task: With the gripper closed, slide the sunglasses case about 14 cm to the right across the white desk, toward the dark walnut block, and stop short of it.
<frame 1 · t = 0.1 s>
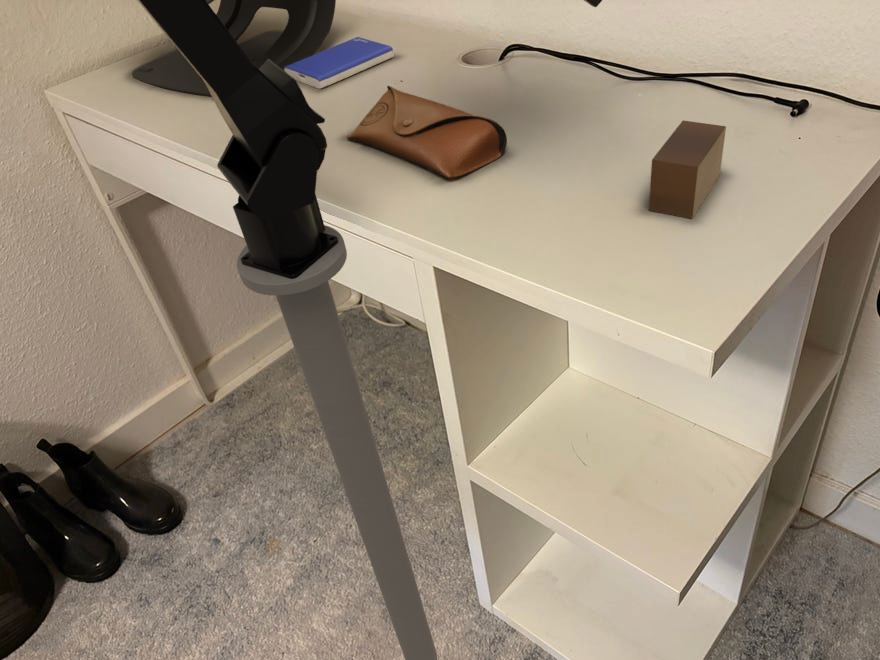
sunglasses case: (423, 147, 80), on the table
walnut block: (684, 193, 68), on the table
laptop stand: (235, 61, 107), on the table
hard drive: (341, 69, 100), on the table
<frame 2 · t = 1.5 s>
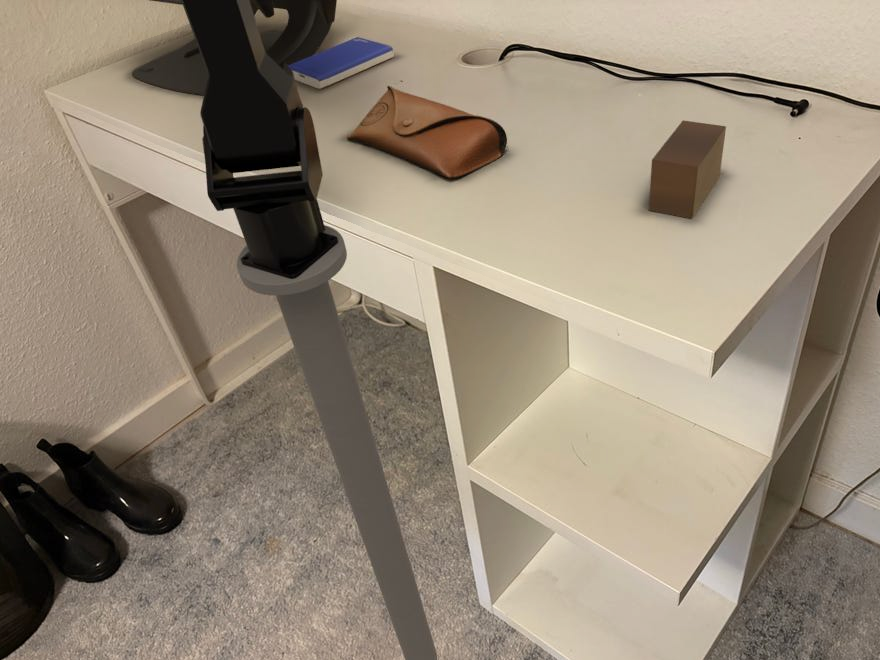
hand: (299, 19, 78), 12 cm above the table, tool pointing down, fingers open, 8 cm apart
nothing on the table moved.
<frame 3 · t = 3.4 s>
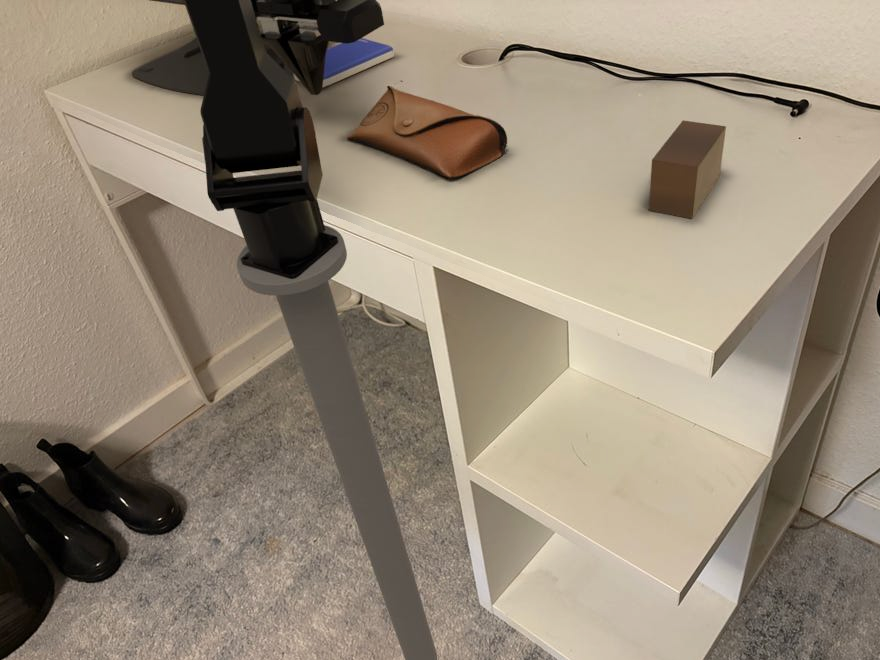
hand: (316, 93, 83), 4 cm above the table, tool pointing down, fingers closed
nothing on the table moved.
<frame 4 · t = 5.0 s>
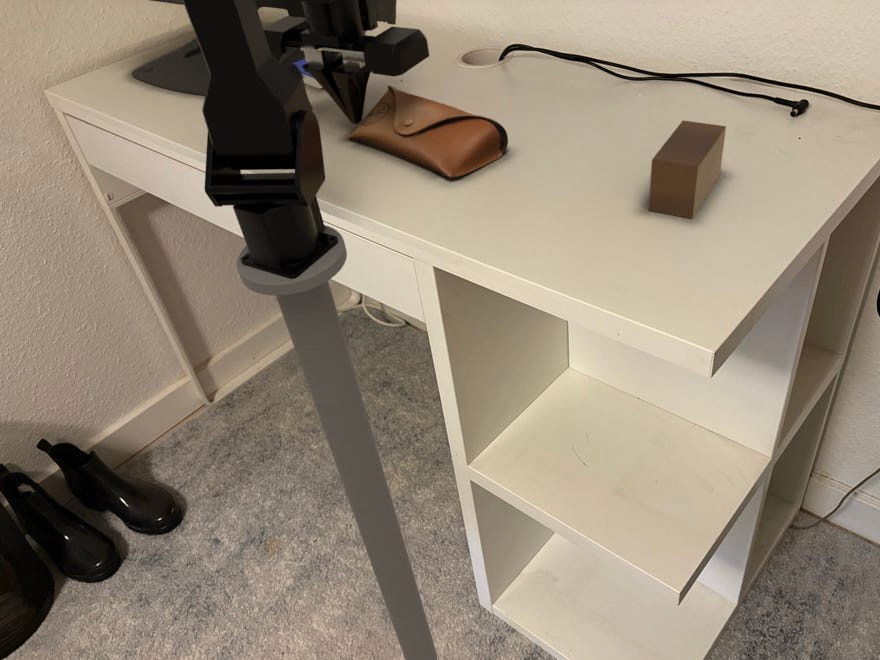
hand: (357, 122, 83), 1 cm above the table, tool pointing down, fingers closed
sunglasses case: (424, 147, 80), on the table, touching gripper
everything else where it was.
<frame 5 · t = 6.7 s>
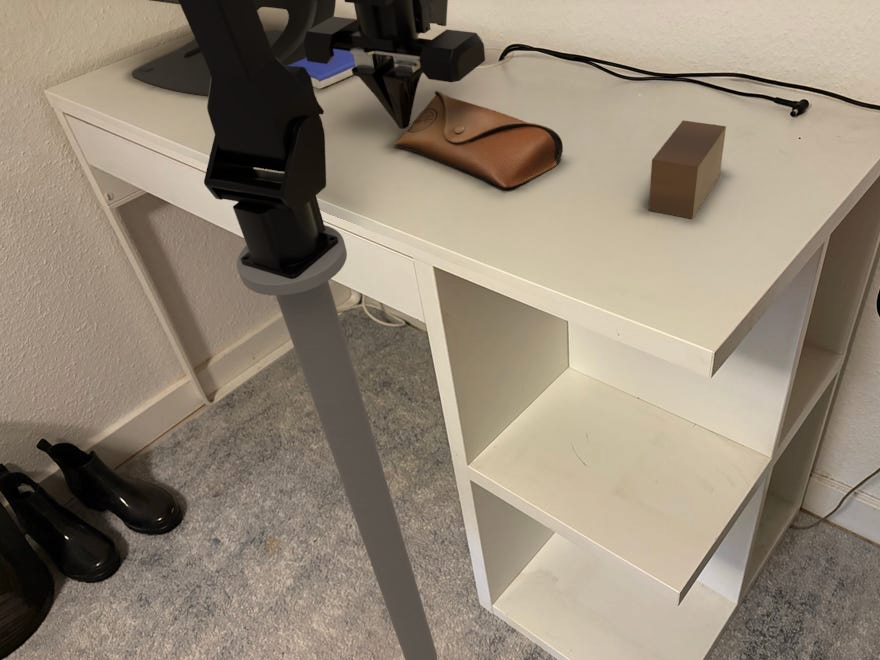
hand: (404, 127, 80), 2 cm above the table, tool pointing down, fingers closed
sunglasses case: (474, 155, 78), on the table, touching gripper
everything else where it was.
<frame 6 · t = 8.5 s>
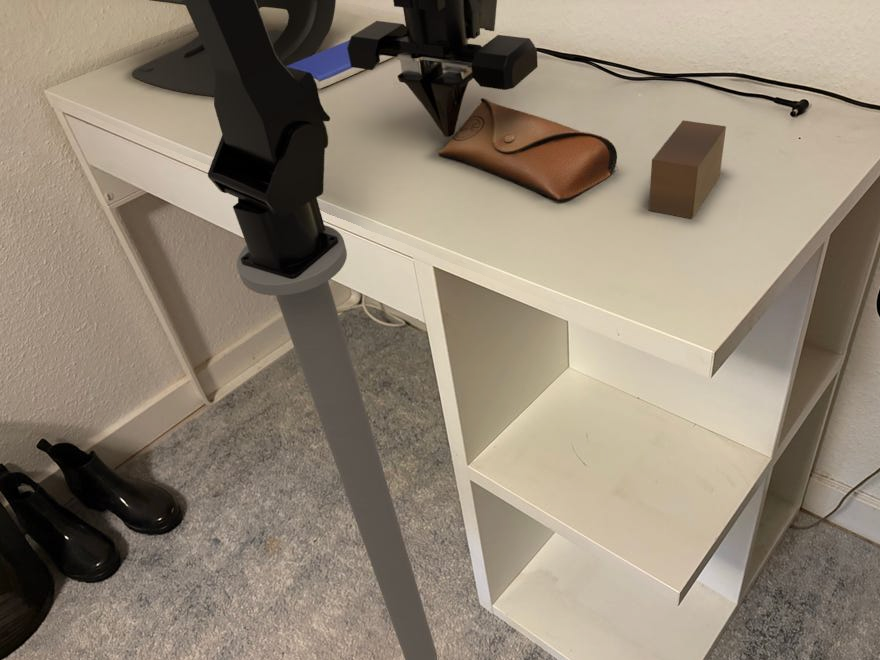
hand: (449, 135, 78), 2 cm above the table, tool pointing down, fingers closed
sunglasses case: (522, 164, 75), on the table, touching gripper
everything else where it was.
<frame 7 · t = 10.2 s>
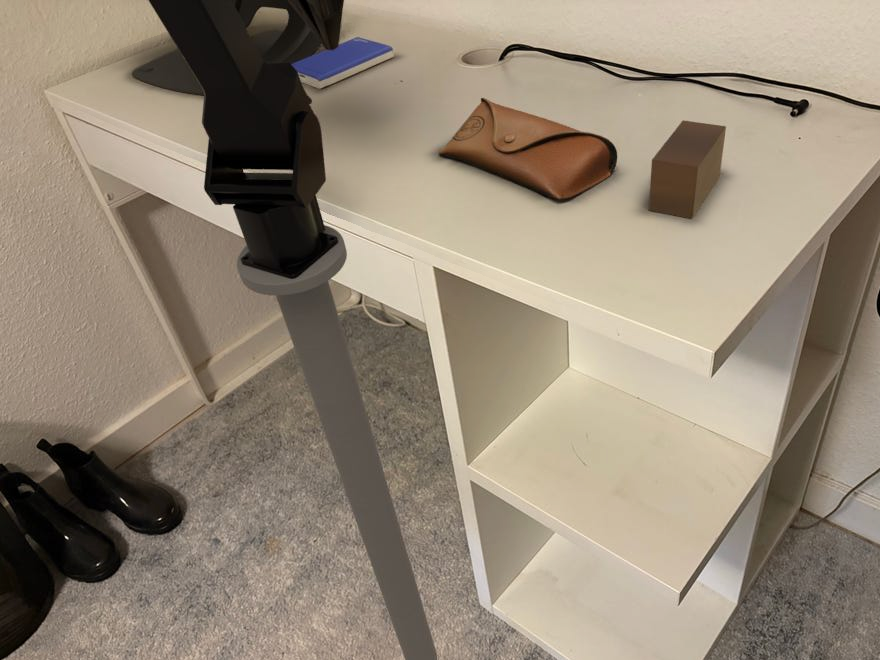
hand: (332, 48, 72), 12 cm above the table, tool pointing down, fingers closed
sunglasses case: (522, 164, 75), on the table
everything else where it was.
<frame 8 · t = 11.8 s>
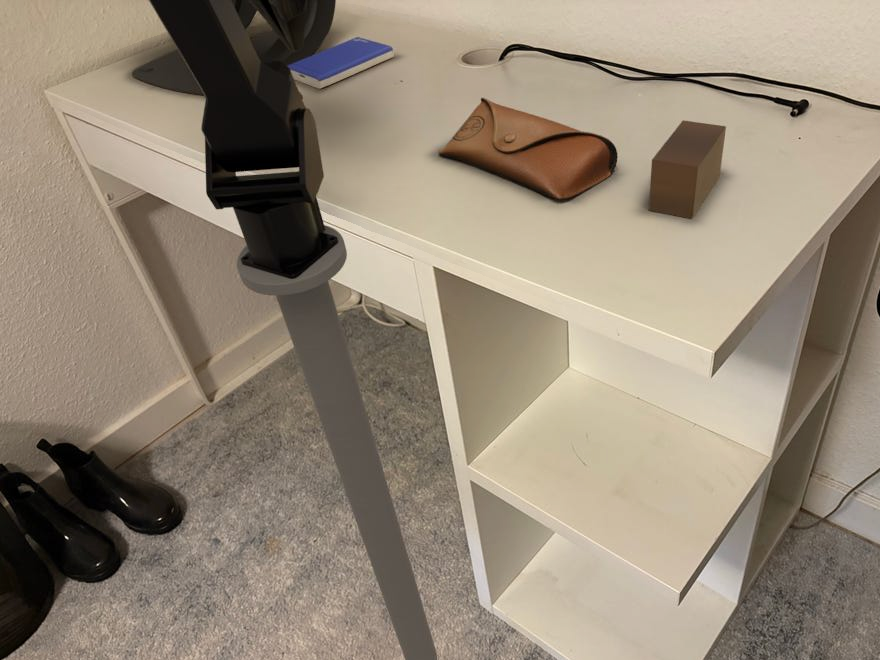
hand: (296, 50, 72), 12 cm above the table, tool pointing down, fingers closed
nothing on the table moved.
at the end: sunglasses case inside the target area (1.9 cm from its centre), on the table; sunglasses case moved 12.1 cm from its start; sunglasses case tilted 0° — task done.
